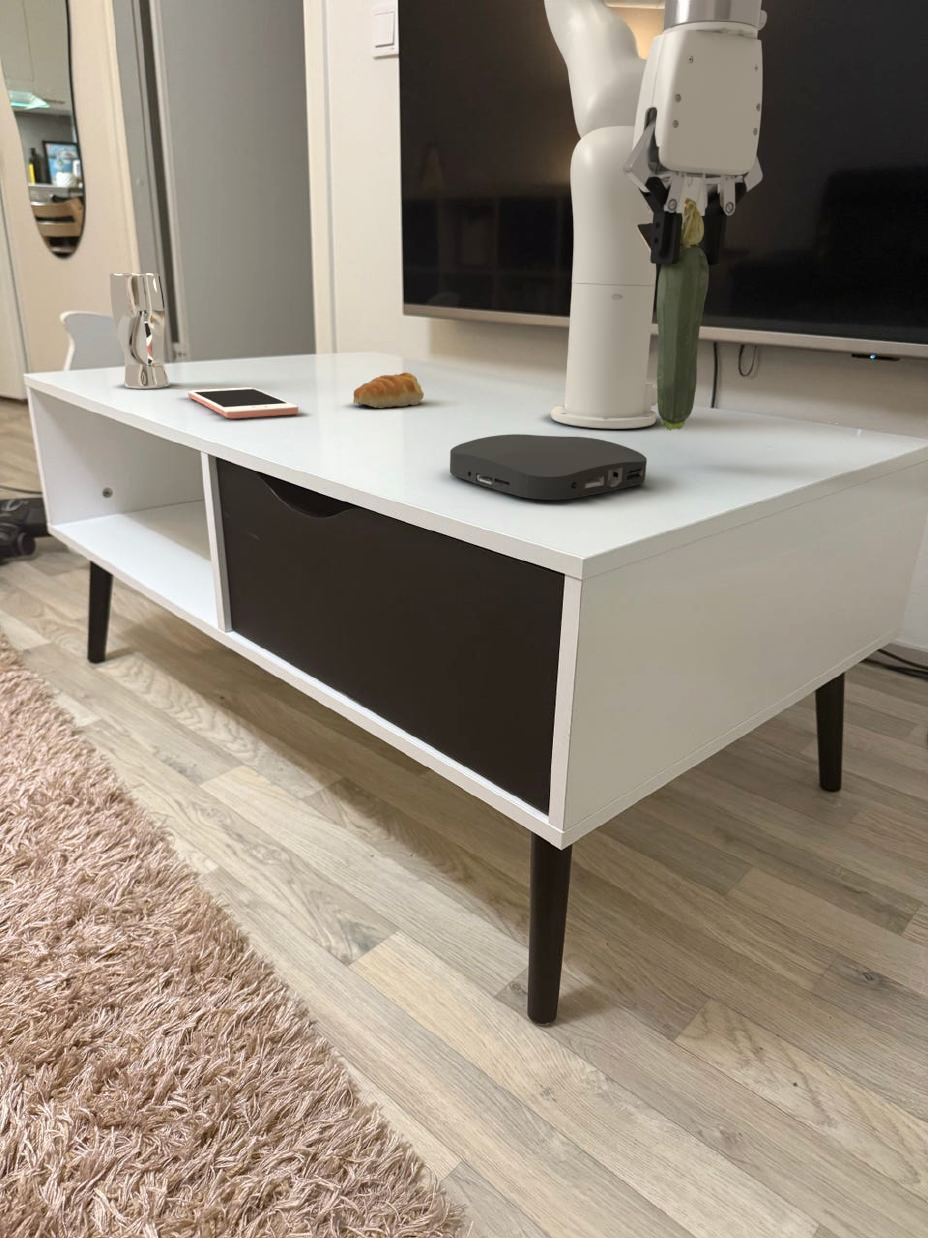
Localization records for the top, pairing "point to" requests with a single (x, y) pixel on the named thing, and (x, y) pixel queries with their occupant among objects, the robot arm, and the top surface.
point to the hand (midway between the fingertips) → (685, 261)
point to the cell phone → (243, 402)
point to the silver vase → (140, 327)
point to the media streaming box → (547, 465)
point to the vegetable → (681, 322)
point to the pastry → (390, 391)
